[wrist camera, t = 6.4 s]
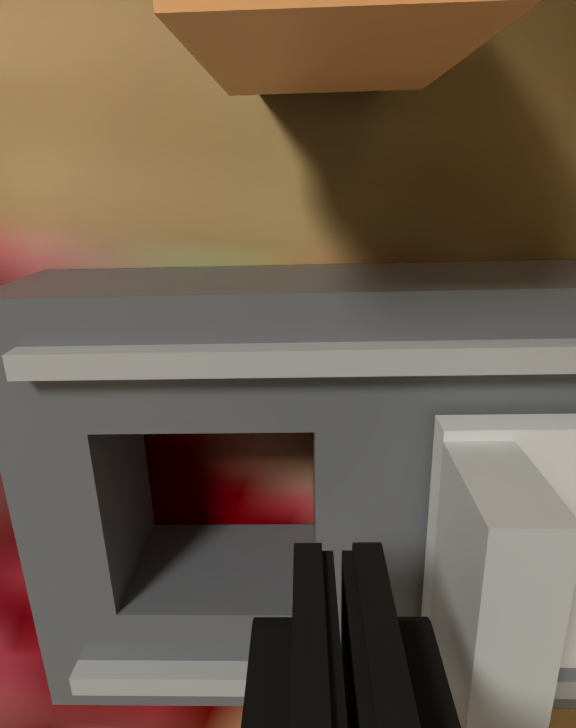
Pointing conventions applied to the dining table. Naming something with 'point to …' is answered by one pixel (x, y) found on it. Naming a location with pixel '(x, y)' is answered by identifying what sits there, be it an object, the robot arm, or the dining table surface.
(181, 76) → the dining table surface
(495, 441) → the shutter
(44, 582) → the grey sliding cover box
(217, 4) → the tan rectangular block
